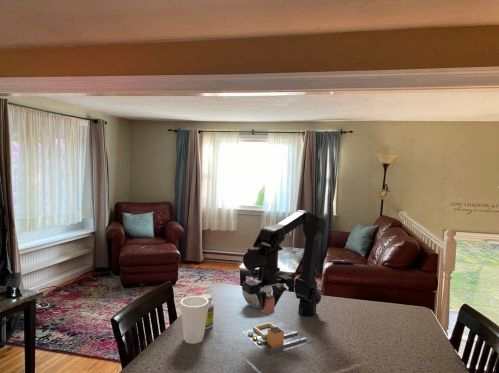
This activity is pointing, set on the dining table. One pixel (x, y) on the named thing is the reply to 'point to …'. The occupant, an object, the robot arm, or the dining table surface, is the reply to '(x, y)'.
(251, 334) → the panel
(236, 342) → the dining table surface
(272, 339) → the toggle
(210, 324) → the pill bottle
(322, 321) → the dining table surface
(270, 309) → the salmon cylinder
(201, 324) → the foam cup
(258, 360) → the dining table surface
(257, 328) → the socket
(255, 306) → the teacup
